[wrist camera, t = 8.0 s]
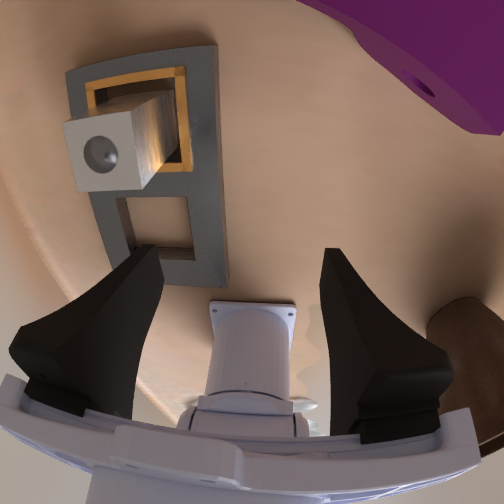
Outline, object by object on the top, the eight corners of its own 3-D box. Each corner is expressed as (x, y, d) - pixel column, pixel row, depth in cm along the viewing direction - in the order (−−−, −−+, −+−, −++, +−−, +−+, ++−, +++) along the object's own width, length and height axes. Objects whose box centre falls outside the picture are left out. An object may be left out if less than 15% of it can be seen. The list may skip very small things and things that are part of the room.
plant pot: (524, 267, 23) (587, 385, 11) (475, 348, 32) (505, 449, 20) (420, 272, 25) (478, 440, 12) (382, 362, 34) (400, 483, 21)
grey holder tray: (229, 275, 26) (226, 289, 25) (122, 269, 27) (116, 282, 25) (218, 45, 15) (212, 44, 14) (77, 68, 16) (63, 72, 14)
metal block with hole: (178, 146, 19) (141, 190, 14) (125, 149, 20) (77, 192, 14) (173, 88, 17) (129, 111, 12) (117, 96, 17) (61, 123, 12)
